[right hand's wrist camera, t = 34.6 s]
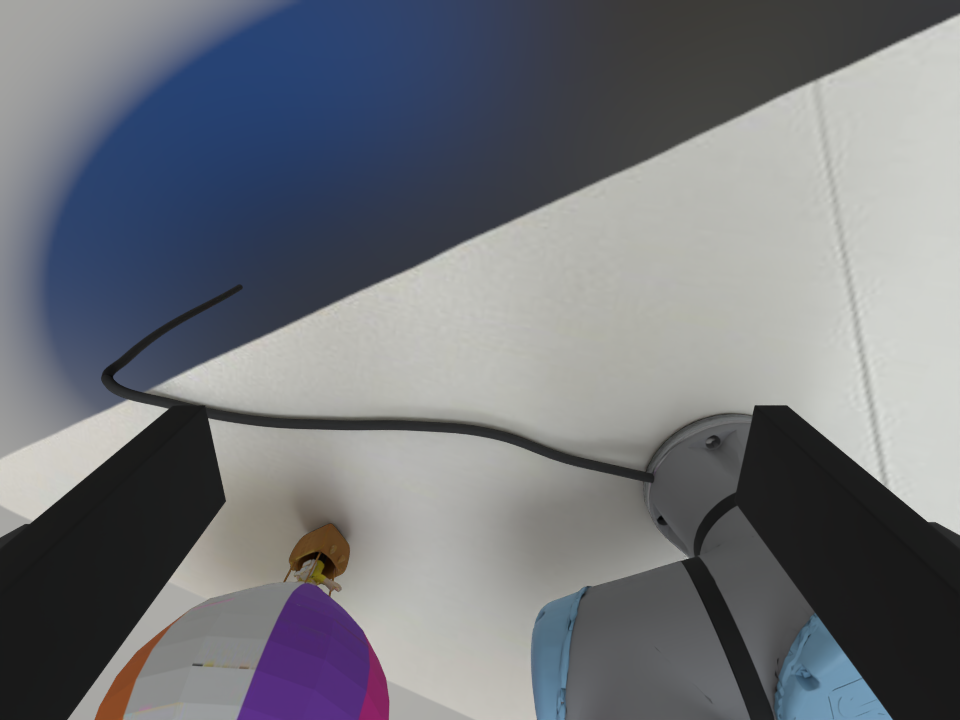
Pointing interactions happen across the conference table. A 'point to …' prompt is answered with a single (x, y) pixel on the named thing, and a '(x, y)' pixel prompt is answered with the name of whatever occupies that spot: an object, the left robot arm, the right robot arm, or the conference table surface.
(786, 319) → the conference table surface
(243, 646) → the toy
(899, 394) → the conference table surface
